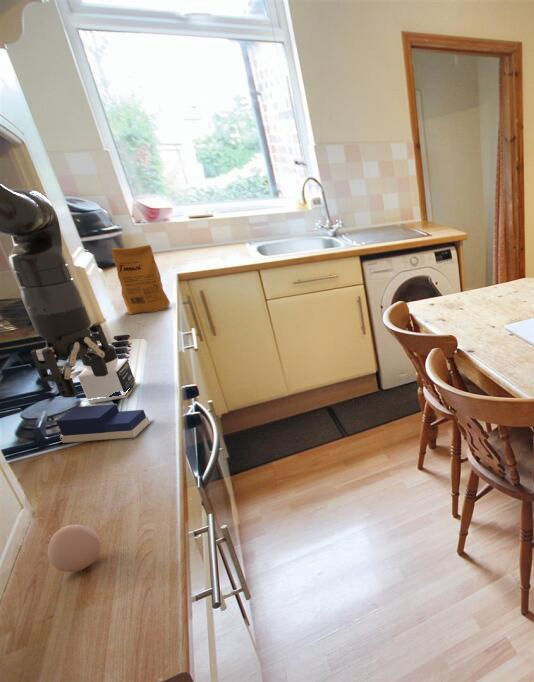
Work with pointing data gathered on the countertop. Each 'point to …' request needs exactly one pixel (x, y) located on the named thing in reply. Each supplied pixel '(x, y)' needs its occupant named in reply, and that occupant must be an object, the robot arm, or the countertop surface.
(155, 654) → the countertop surface
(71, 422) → the navy and white sponge
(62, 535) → the egg
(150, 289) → the coffee package
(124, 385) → the medicine bottle
